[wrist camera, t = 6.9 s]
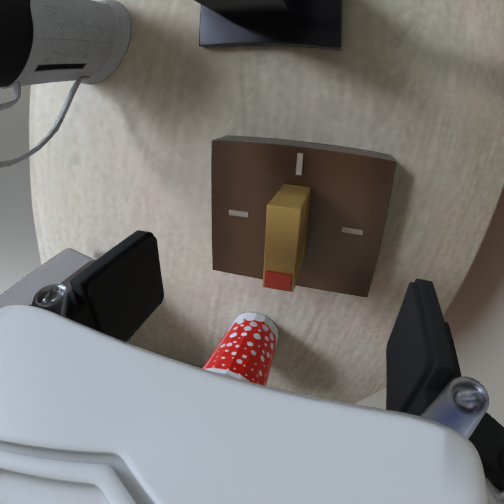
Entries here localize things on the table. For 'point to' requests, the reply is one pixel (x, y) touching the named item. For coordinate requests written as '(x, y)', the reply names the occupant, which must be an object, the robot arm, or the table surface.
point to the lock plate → (320, 212)
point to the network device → (47, 277)
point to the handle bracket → (271, 23)
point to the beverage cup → (246, 349)
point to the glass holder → (59, 47)
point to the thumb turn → (286, 236)
